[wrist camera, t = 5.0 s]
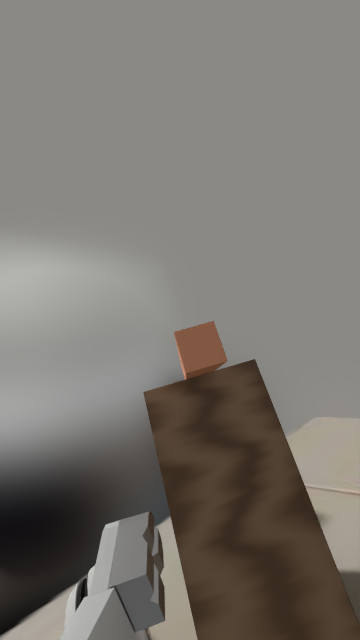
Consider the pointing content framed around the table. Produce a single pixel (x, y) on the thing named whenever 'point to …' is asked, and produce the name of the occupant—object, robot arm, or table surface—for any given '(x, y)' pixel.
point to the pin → (199, 350)
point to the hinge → (77, 597)
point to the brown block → (244, 514)
